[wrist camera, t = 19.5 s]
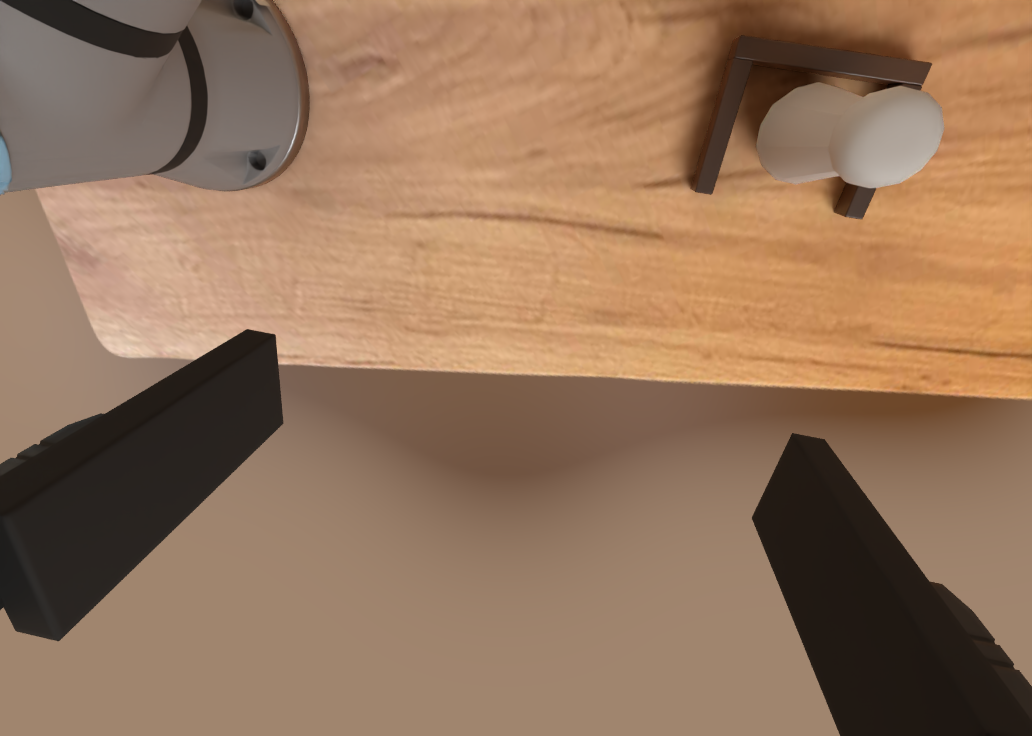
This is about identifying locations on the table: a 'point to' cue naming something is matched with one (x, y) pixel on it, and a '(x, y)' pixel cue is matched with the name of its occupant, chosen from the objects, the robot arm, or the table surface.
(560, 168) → the table surface
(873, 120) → the salt shaker
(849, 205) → the walnut stop
